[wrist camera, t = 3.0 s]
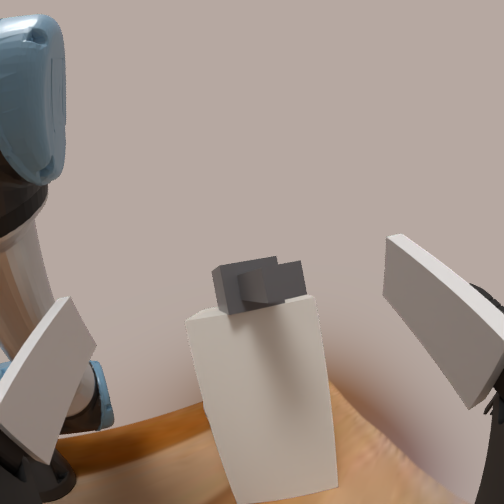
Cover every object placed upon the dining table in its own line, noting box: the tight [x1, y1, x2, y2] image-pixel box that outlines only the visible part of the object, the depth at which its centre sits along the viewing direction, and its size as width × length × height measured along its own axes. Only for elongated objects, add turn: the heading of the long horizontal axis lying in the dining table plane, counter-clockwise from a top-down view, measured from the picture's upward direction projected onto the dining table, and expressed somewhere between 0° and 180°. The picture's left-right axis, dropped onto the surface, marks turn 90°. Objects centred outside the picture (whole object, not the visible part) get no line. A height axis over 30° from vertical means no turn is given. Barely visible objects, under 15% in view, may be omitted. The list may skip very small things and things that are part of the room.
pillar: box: [184, 295, 338, 504], centre depth 33 cm, size 12×14×28 cm
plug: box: [212, 256, 307, 315], centre depth 29 cm, size 19×6×5 cm, turn 14°
